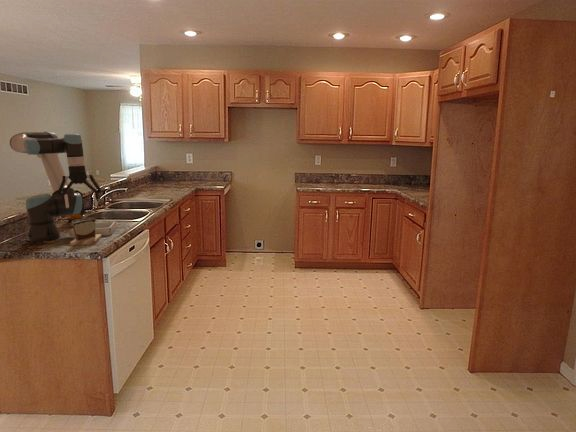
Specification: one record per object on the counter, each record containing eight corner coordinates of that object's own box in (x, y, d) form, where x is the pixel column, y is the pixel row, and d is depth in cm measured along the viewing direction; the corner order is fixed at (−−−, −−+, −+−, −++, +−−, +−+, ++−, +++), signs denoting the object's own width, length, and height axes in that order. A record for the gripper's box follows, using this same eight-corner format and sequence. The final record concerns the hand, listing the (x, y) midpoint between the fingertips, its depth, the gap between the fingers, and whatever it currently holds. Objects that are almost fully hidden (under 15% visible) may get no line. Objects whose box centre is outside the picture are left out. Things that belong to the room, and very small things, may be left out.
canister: (73, 219, 263) (69, 189, 259) (89, 219, 262) (85, 188, 258) (65, 222, 254) (60, 191, 250) (81, 222, 253) (77, 191, 249)
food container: (92, 234, 216) (89, 216, 214) (98, 236, 212) (95, 217, 210) (68, 240, 206) (66, 221, 204) (74, 241, 203) (72, 222, 201)
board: (70, 245, 202) (69, 242, 201) (78, 237, 216) (77, 235, 216) (96, 243, 204) (95, 240, 204) (102, 236, 219) (101, 233, 218)
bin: (70, 238, 216) (69, 230, 215) (78, 230, 232) (77, 224, 231) (111, 234, 221) (110, 227, 220) (116, 227, 237) (115, 221, 236)
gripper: (46, 166, 196) (52, 209, 200) (101, 164, 201) (106, 206, 206) (51, 165, 203) (57, 206, 207) (104, 163, 208) (109, 203, 213)
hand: (82, 206), depth 207 cm, fingers open, 13 cm apart
